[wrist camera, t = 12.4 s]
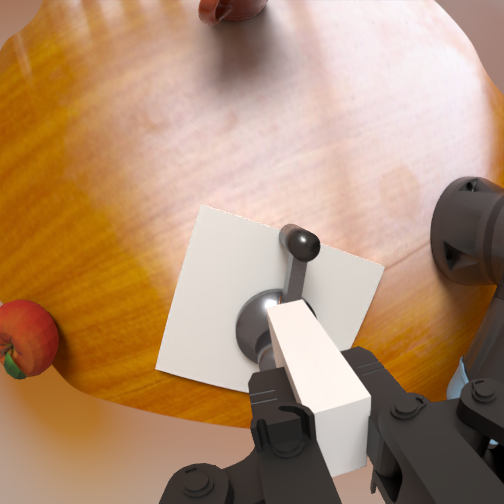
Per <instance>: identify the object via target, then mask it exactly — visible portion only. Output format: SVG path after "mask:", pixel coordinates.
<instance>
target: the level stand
mask: <svg viewBox="0 0 504 504" xmlns="http://www.w3.org/2000/svg"><path fill="white" fill-rule="evenodd" d="M280 230H281V229H278V228H275V227H272V226H269V225H266V224H263V223H260V222H257V221H254V220H251V219H247V218H244V217H241V216H238V215H235V214H232V213H229V212H226V211H223V210H220V209H216V208H213V207H210V206H207V205H204V204H201V207H200V210H199V213H198V216H197V219H196V222H195V226H194V229H193V232H192V235H191V239H190V242H189V245H188V249H187V252H186V255H185V259H184V262H183V266H182V269H181V273H180V276H179V280H178V283H177V287H176V290H175V294H174V298H173V301H172V305H171V309H170V312H169V316H168V320H167V324H166V328H165V332H164V335H163V339H162V343H161V347H160V352H159V356H158V360H157V364H156V368H155V369H157V370H160V371H164V372H167V373H171V374H174V375H178V376H181V377H185V378H188V379H192V380H196V381H200V382H204V383H208V384H212V385H216V386H220V387H224V388H229V389H233V390H238V391H242V392H247V393H249V388H248V382H249V380H250V378H251V376H252V374H253V373H255V372H260V369H259V364H256V363H254V362H252V361H251V360H249V359H248V358H247V357H246V356H245V355H244V354H243V353H242V351H241V350H240V348H239V346H238V344H237V340H236V332H235V323H236V318H237V315H238V313H239V311H240V309H241V308H242V306H243V305H244V304H245V303H246V302H247V301H248V300H249V299H250V298H251V297H253V296H254V295H256V294H258V293H260V292H262V291H265V290H269V289H276V288H278V289H283V287H284V281H285V275H286V269H287V262H288V256H289V251H287V250H286V249H285V248H284V247H283V246H282V245H281V243H280V241H279V232H280ZM320 245H321V248H320V252H319V254H318V256H317V257H316V258H315V259H314V260H312V261H309V262H308V263H307V269H306V274H305V280H304V286H303V291H302V297H303V298H305V299H306V301H307V302H308V303H309V304H310V306H311V307H312V308H313V310H314V312H315V314H316V317H317V320H318V322H319V323H320V325H321V326H322V327H323V329H324V330H325V332H326V333H327V334H328V336H329V337H330V339H331V340H332V341H333V343H334V344H335V346H336V347H337V348H338V350H339V351H344V350H347V349H350V348H351V346H352V344H353V341H354V339H355V337H356V335H357V333H358V331H359V328H360V326H361V324H362V322H363V319H364V317H365V315H366V313H367V310H368V308H369V306H370V303H371V301H372V298H373V296H374V294H375V291H376V289H377V286H378V284H379V281H380V279H381V276H382V274H383V271H384V268H385V267H384V266H383V265H381V264H378V263H376V262H373V261H370V260H367V259H364V258H362V257H359V256H356V255H353V254H350V253H348V252H345V251H342V250H339V249H336V248H333V247H330V246H328V245H325V244H322V243H320Z"/></svg>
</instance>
